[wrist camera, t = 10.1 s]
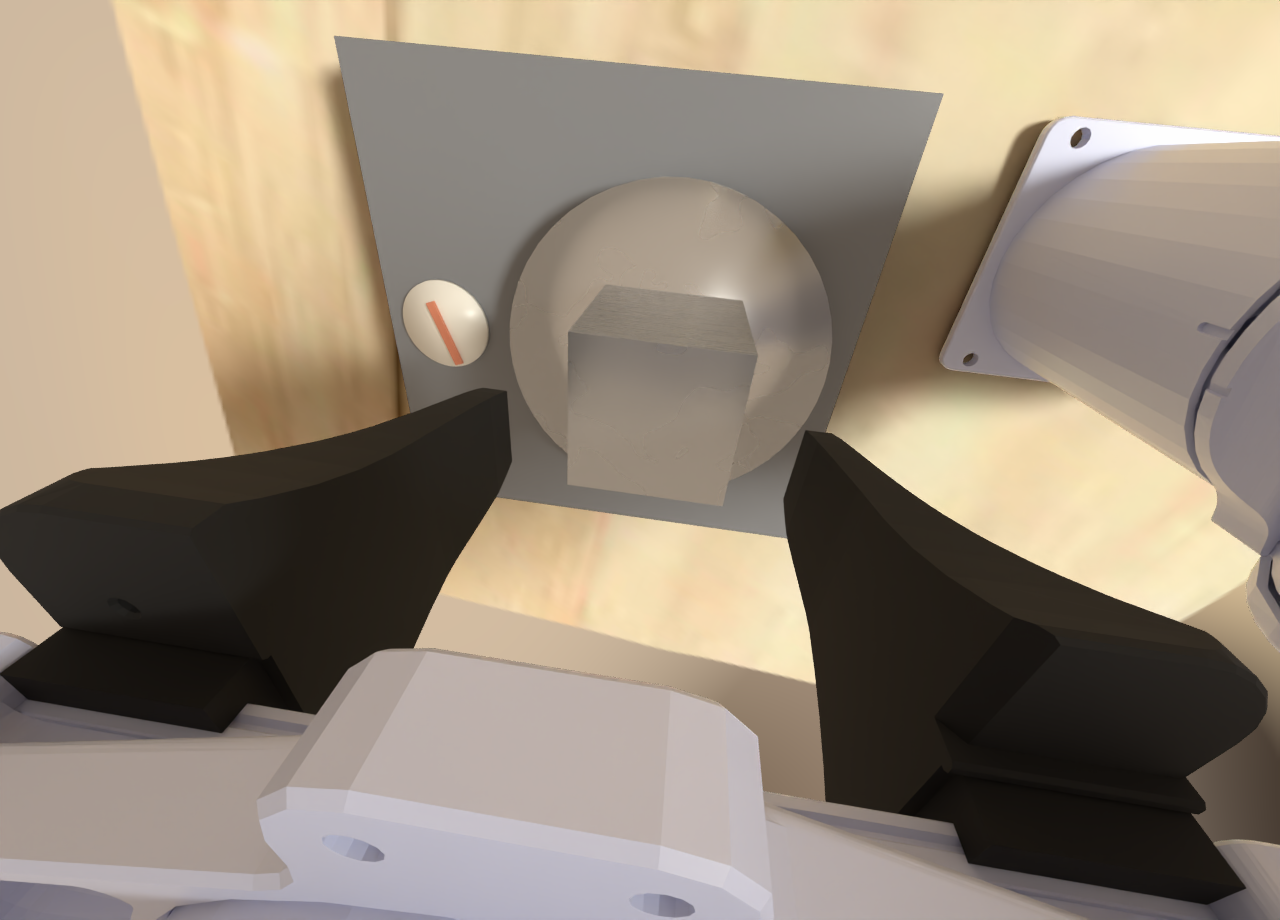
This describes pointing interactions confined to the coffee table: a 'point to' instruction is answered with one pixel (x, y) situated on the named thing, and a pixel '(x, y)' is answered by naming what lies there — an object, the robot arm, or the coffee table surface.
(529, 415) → the scale base
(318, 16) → the coffee table surface
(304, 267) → the coffee table surface
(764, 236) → the pan
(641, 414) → the block
